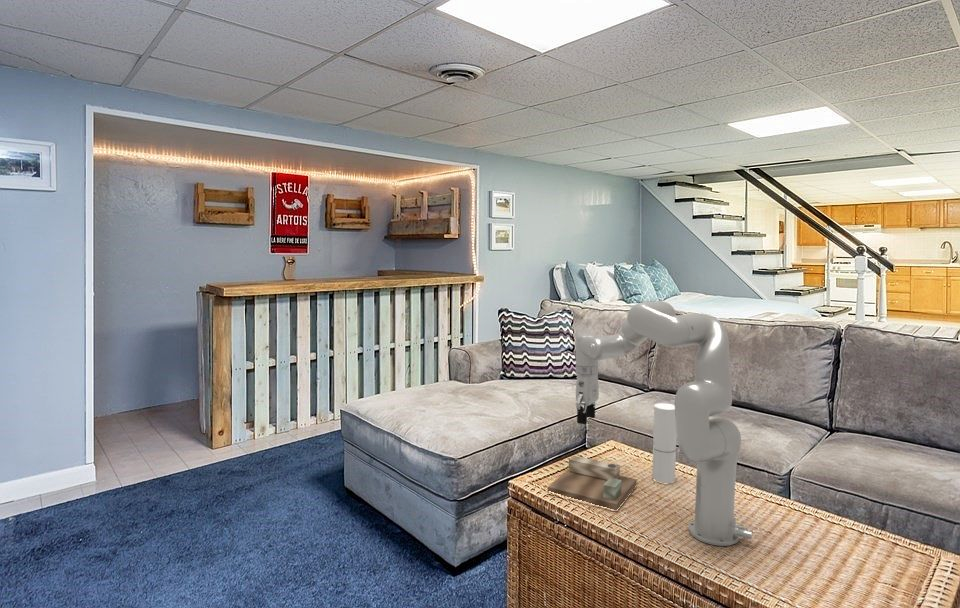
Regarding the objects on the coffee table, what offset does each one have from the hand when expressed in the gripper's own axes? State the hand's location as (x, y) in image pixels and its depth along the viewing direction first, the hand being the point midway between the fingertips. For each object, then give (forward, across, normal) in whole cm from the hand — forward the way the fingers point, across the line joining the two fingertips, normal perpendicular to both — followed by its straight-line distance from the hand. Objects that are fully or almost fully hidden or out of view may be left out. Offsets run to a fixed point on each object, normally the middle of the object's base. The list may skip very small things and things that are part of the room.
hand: (586, 420), depth 186 cm
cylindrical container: (+18, +6, -25) cm, 31 cm away
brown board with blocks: (+18, -14, -8) cm, 24 cm away
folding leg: (+15, -8, -6) cm, 18 cm away
